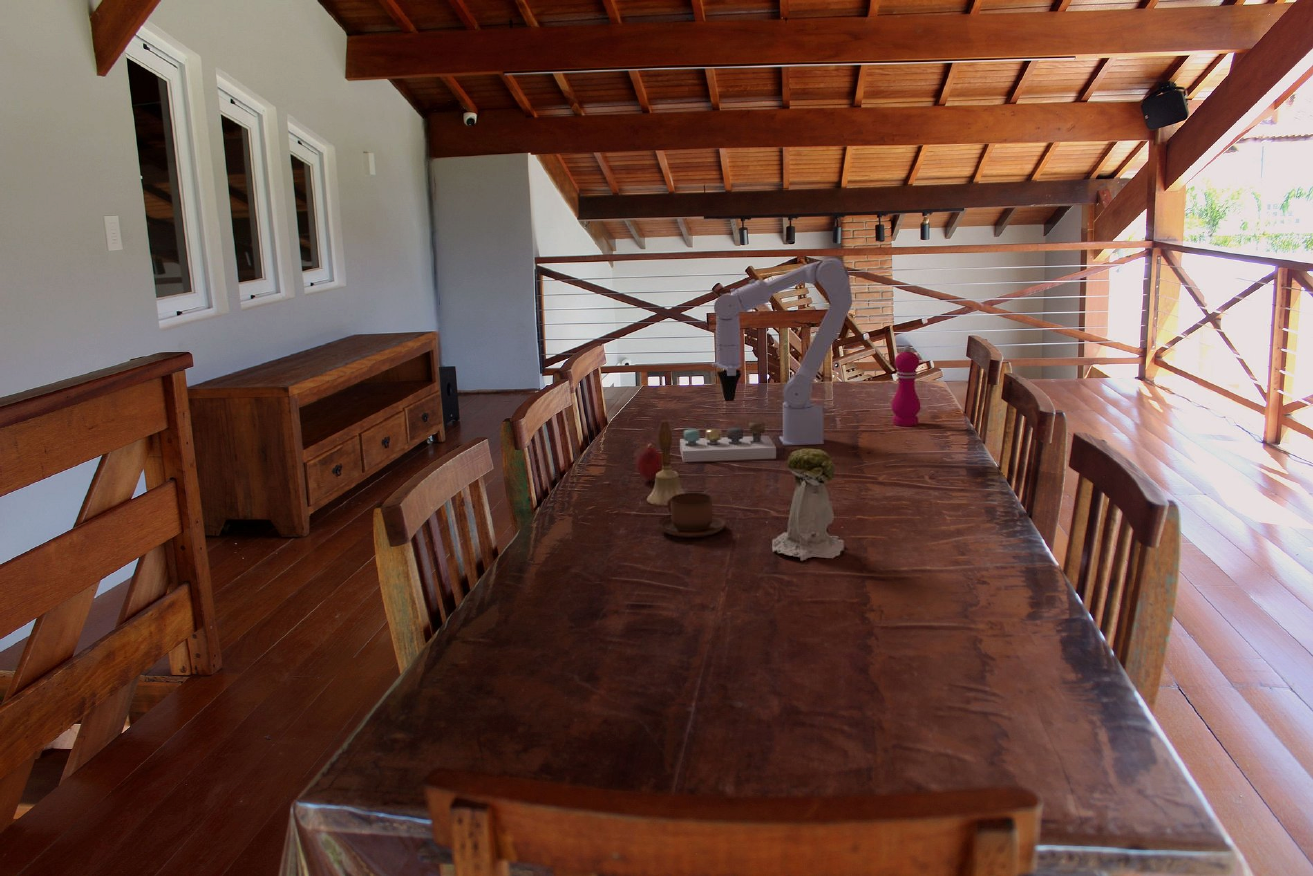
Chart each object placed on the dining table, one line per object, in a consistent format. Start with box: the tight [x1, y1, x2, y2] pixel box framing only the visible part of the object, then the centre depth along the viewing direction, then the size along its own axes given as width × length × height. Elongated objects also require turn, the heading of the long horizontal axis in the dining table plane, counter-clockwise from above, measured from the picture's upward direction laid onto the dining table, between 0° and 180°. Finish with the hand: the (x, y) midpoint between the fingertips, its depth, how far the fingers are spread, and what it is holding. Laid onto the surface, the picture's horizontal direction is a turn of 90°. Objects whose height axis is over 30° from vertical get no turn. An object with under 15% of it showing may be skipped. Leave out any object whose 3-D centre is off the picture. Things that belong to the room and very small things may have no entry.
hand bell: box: [646, 419, 686, 507], centre depth 195 cm, size 8×8×16 cm
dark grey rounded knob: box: [726, 427, 744, 445], centre depth 230 cm, size 4×4×4 cm
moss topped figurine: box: [771, 448, 845, 561], centre depth 165 cm, size 11×12×17 cm
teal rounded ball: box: [683, 428, 701, 446], centre depth 230 cm, size 4×4×4 cm
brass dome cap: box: [705, 428, 722, 445], centre depth 230 cm, size 4×4×4 cm
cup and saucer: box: [657, 492, 727, 538], centre depth 177 cm, size 12×12×6 cm
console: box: [679, 435, 777, 463], centre depth 231 cm, size 21×12×2 cm, turn 92°
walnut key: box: [748, 421, 766, 442], centre depth 230 cm, size 4×4×4 cm
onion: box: [636, 443, 663, 482], centre depth 210 cm, size 6×6×8 cm
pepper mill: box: [890, 345, 921, 427], centre depth 253 cm, size 7×7×20 cm
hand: (729, 400), depth 242 cm, fingers closed
